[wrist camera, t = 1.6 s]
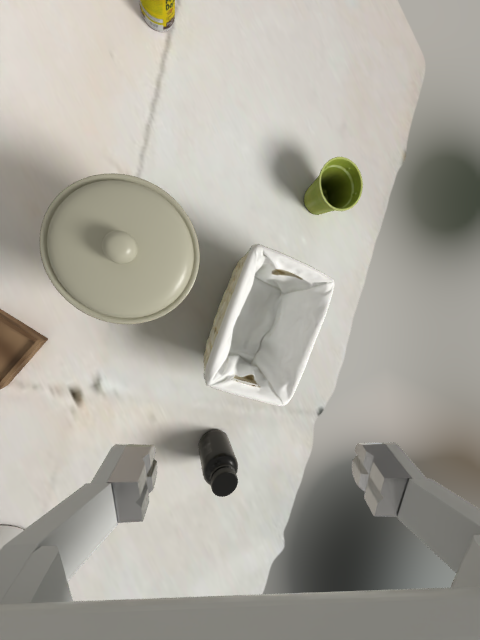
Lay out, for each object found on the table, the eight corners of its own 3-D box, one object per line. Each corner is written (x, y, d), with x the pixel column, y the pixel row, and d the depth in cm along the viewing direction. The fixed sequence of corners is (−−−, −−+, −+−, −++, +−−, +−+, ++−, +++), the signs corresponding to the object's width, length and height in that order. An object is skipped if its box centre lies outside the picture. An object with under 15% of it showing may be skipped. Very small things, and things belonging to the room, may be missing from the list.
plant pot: (297, 222, 52) (320, 210, 44) (295, 176, 51) (319, 154, 43) (333, 223, 55) (362, 211, 46) (333, 178, 53) (363, 158, 45)
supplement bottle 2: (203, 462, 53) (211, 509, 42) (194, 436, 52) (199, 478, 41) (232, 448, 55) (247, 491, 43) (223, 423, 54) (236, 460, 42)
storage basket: (261, 379, 55) (291, 411, 41) (193, 360, 50) (201, 388, 36) (297, 281, 54) (341, 279, 40) (232, 252, 50) (256, 238, 35)
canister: (126, 193, 43) (84, 108, 23) (209, 255, 48) (233, 231, 28) (67, 275, 42) (-31, 262, 22) (157, 330, 47) (145, 360, 27)
